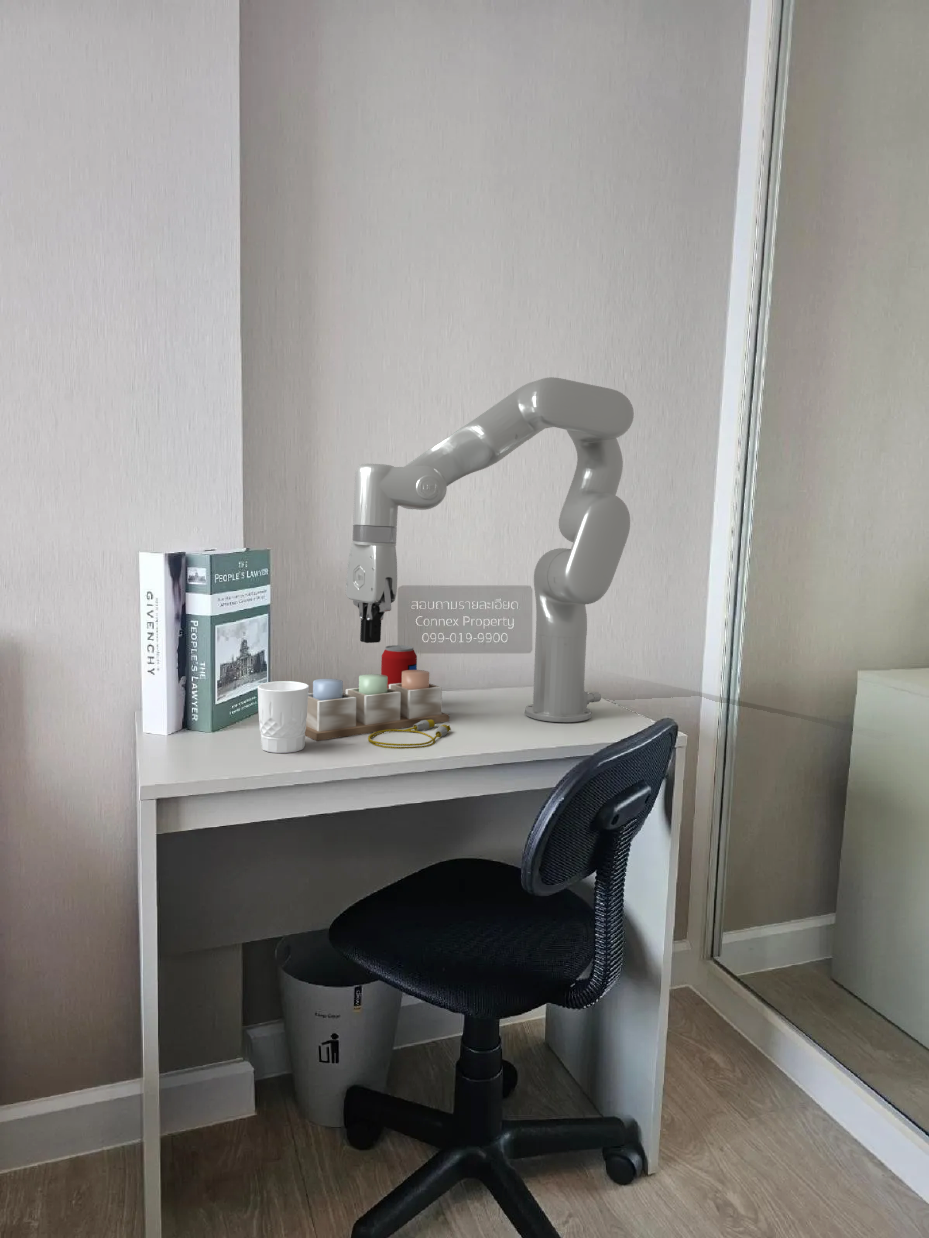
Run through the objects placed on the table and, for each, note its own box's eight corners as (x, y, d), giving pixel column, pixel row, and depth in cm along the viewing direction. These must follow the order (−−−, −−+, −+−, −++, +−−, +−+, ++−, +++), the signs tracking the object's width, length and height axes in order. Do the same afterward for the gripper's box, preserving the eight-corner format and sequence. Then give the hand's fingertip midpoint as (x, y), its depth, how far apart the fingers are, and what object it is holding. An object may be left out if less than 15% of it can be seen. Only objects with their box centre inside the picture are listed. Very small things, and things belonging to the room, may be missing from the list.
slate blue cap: (333, 705, 156) (333, 677, 156) (347, 711, 152) (348, 682, 152) (307, 709, 153) (307, 680, 153) (321, 714, 149) (321, 685, 149)
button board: (420, 711, 171) (421, 679, 170) (448, 721, 163) (449, 687, 163) (291, 729, 154) (291, 693, 153) (316, 740, 147) (316, 703, 146)
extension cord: (470, 744, 149) (470, 732, 149) (383, 755, 142) (383, 742, 141) (436, 728, 160) (436, 717, 160) (353, 737, 152) (354, 725, 152)
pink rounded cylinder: (418, 695, 167) (419, 668, 167) (434, 700, 163) (434, 673, 163) (396, 698, 164) (396, 671, 164) (411, 703, 160) (411, 675, 160)
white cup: (308, 741, 147) (309, 681, 146) (307, 754, 139) (307, 690, 138) (259, 741, 146) (259, 681, 144) (255, 754, 138) (255, 690, 137)
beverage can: (420, 711, 170) (422, 649, 169) (386, 714, 168) (387, 650, 166) (409, 704, 177) (410, 644, 175) (376, 706, 174) (377, 645, 173)
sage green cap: (377, 700, 162) (377, 673, 161) (392, 705, 158) (393, 677, 157) (353, 703, 159) (353, 675, 158) (368, 708, 155) (368, 680, 154)
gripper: (334, 534, 158) (330, 637, 160) (379, 538, 147) (374, 649, 149) (370, 535, 163) (366, 635, 165) (417, 539, 151) (412, 647, 153)
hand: (370, 641), depth 157 cm, fingers closed
